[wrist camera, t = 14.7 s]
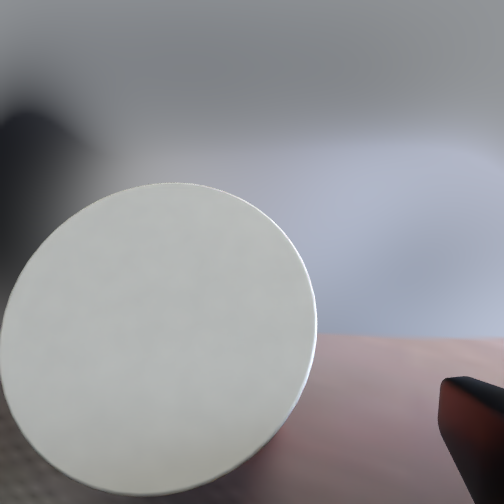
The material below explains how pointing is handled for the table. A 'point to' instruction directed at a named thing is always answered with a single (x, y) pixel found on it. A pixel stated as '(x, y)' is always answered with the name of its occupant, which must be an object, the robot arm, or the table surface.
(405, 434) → the table surface
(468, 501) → the table surface
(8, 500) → the table surface
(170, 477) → the canister
